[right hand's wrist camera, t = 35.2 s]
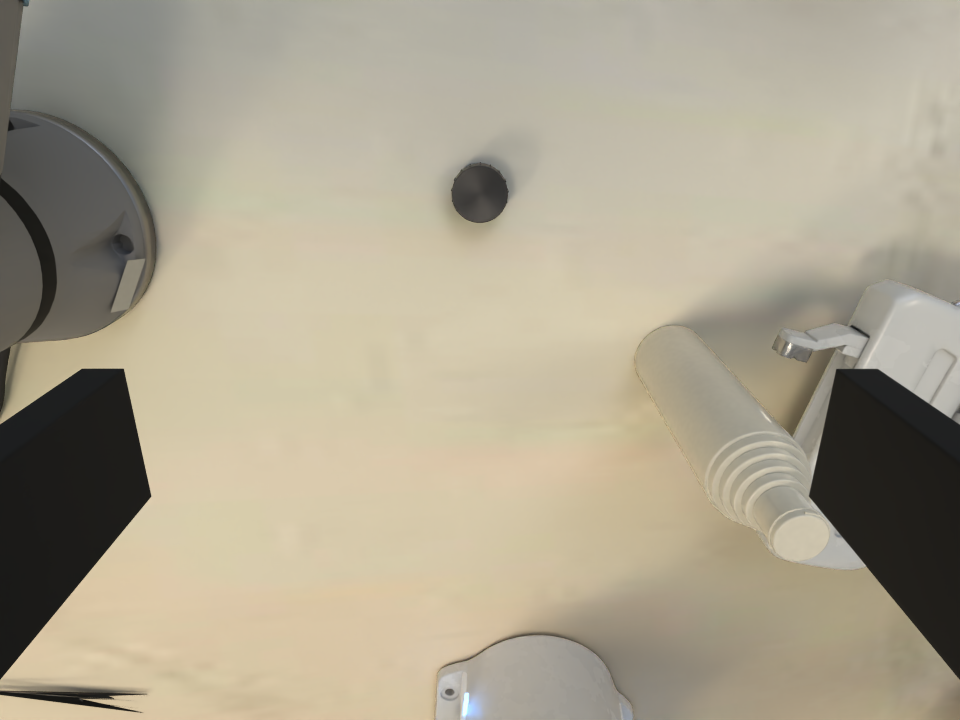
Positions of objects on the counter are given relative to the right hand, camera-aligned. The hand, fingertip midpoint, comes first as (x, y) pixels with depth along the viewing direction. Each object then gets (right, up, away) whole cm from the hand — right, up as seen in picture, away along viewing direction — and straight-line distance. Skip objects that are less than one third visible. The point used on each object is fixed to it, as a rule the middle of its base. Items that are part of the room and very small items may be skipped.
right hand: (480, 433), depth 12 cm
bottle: (+14, +1, +37) cm, 40 cm away
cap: (0, +12, +31) cm, 33 cm away
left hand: (+18, -2, +31) cm, 36 cm away
